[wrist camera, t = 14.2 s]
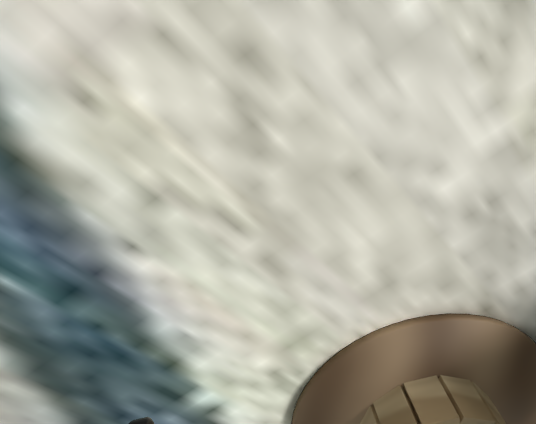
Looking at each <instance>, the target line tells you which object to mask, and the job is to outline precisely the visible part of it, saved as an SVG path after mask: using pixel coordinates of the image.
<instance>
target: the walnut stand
mask: <svg viewBox="0 0 536 424" xmlns="http://www.w3.org/2000/svg"><path fill="white" fill-rule="evenodd" d="M291 424H536V343H535V342H534V341H533V340H532V339H531V338H530V337H528V336H527V335H526V334H525V333H523V332H522V331H520V330H519V329H517V328H516V327H514V326H512V325H509V324H507V323H505V322H502V321H500V320H496V319H493V318H489V317H485V316H478V315H471V314H439V315H429V316H424V317H418V318H413V319H409V320H405V321H402V322H399V323H395V324H392V325H389V326H387V327H384V328H382V329H379V330H377V331H374V332H372V333H370V334H368V335H366V336H364V337H362V338H360V339H358V340H356V341H355V342H353V343H352V344H350V345H349V346H347V347H346V348H344V349H343V350H341V351H340V352H338V353H337V354H336V355H335V356H333V357H332V358H331V359H330V360H329V361H327V362H326V363H325V364H324V365H323V366H322V367H321V368H320V369H319V370H318V371H317V372H316V373H315V374H314V376H313V377H312V378H311V380H310V381H309V382H308V384H307V385H306V386H305V388H304V390H303V391H302V393H301V395H300V397H299V399H298V401H297V404H296V406H295V409H294V412H293V417H292V423H291Z"/></svg>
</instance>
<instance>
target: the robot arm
mask: <svg viewBox="0 0 536 424" xmlns="http://www.w3.org/2000/svg"><path fill="white" fill-rule="evenodd" d="M129 424H154V422H153V421H152V419H151V418H149V417H144V418H140V419H136V420H133V421H131V422H130V423H129Z"/></svg>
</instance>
